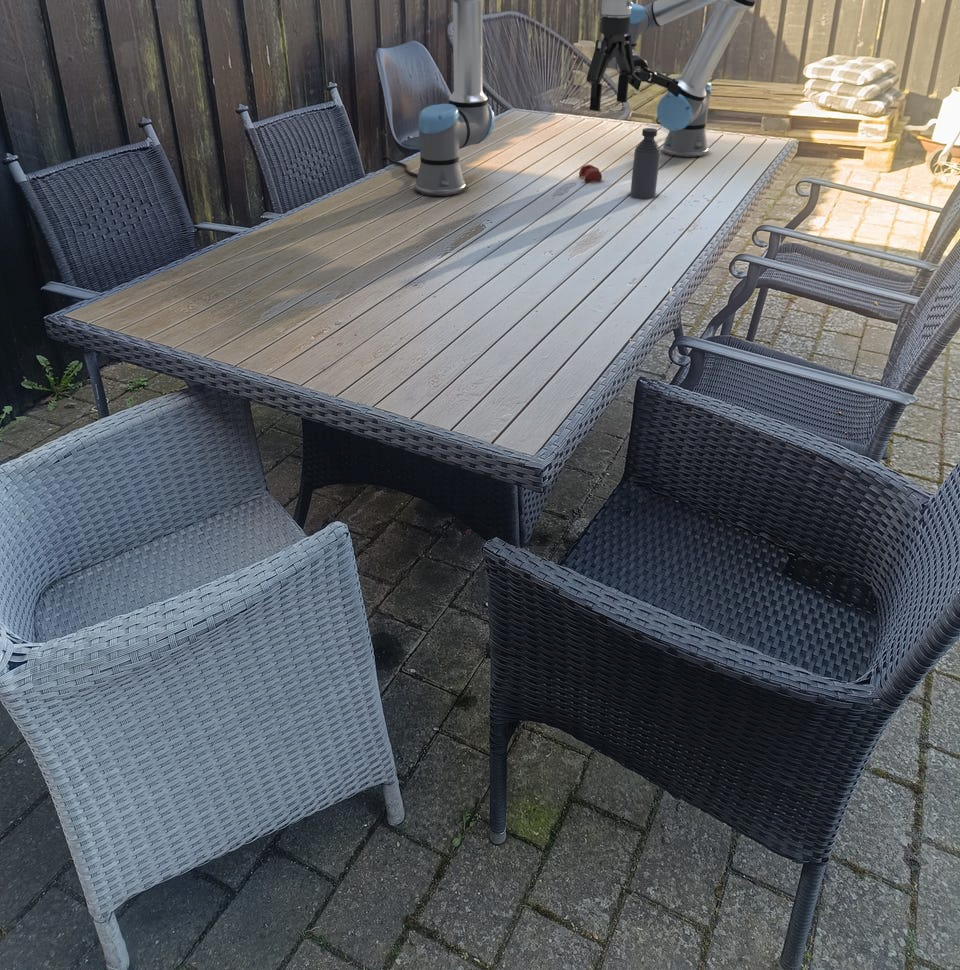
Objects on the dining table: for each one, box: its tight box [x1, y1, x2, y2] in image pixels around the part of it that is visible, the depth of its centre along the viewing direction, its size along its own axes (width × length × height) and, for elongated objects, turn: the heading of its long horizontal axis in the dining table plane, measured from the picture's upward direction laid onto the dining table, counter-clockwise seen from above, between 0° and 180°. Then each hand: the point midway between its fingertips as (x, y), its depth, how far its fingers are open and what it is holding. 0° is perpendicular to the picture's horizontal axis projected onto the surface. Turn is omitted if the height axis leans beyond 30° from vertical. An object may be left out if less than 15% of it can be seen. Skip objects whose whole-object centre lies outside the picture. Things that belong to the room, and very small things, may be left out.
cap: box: [641, 127, 658, 138], centre depth 244 cm, size 4×4×2 cm
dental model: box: [578, 164, 603, 183], centre depth 266 cm, size 6×4×8 cm
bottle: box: [629, 136, 661, 200], centre depth 249 cm, size 7×7×18 cm
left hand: (608, 106), depth 226 cm, fingers open, 13 cm apart
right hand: (658, 88), depth 254 cm, fingers open, 13 cm apart
